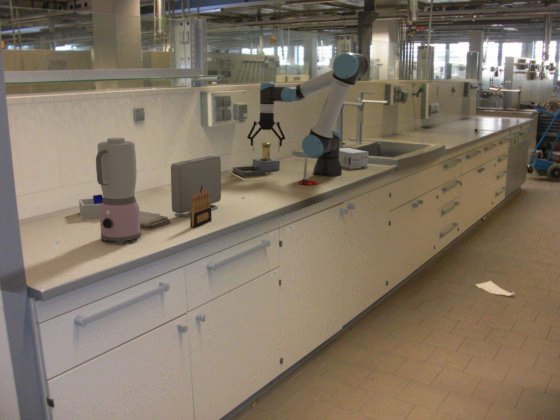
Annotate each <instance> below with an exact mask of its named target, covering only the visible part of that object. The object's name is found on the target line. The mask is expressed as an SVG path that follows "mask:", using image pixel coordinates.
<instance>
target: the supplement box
mask: <svg viewBox="0 0 560 420" xmlns="http://www.w3.org/2000/svg"><path fill="white" fill-rule="evenodd" d="M368 160H369V151H365V150H360V149H355V148H350V147H344V148H341V147H340V151H339V161H340V165H341V168H346V169H349V168H350V170H353V168H355V169H361V168H362V167H364V168H368V166H369V165H368V163H369V161H368Z"/></svg>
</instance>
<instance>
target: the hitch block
mask: <svg viewBox="0 0 560 420" xmlns="http://www.w3.org/2000/svg"><path fill="white" fill-rule="evenodd" d="M280 165H281V164H280V160H278V159H276V158H274V157H270V161H262V157H261V158H252V166H255V167H257V168H260V169H262V170H264V171H266V172H273V171H280V167H281V166H280Z"/></svg>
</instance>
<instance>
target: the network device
mask: <svg viewBox="0 0 560 420" xmlns="http://www.w3.org/2000/svg"><path fill="white" fill-rule="evenodd" d="M221 162H222V160H221V156H217V155H207V156H201V157H196V158H192V159H187V160H181V161H177V162H173V163H171V165H170V183H171V184H170V186H171V187H170V188H171V189H170V190H171V191H170V192H171V211H172V212H173V213H175V214H174V215H175V216H177V217H182V218H190V214H185V213H188V212H191V204H192V195H193V193H194V195H195V194H196V192H197V194H198V192H199V191H200V194H201V191H203V193H204V190H206V192H207V189H208V190H209V196H210V207H211V212H212V211H215V210H218V209H219V206H218V205H217V204H216V203H218V202H221V199H222V177H221V176H222V175H221V173H222V167H221V165H222V164H221ZM215 204H216V205H215Z"/></svg>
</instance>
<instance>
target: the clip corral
mask: <svg viewBox="0 0 560 420" xmlns="http://www.w3.org/2000/svg"><path fill="white" fill-rule="evenodd" d="M78 202H79V203H78V205H79V214H80V215H81V217H82V220H90V219H91V220H93V219H100V206H101V204H94V199H93V197H92V198H91V197H90V198H81V199H80V198H79V199H78Z"/></svg>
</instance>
